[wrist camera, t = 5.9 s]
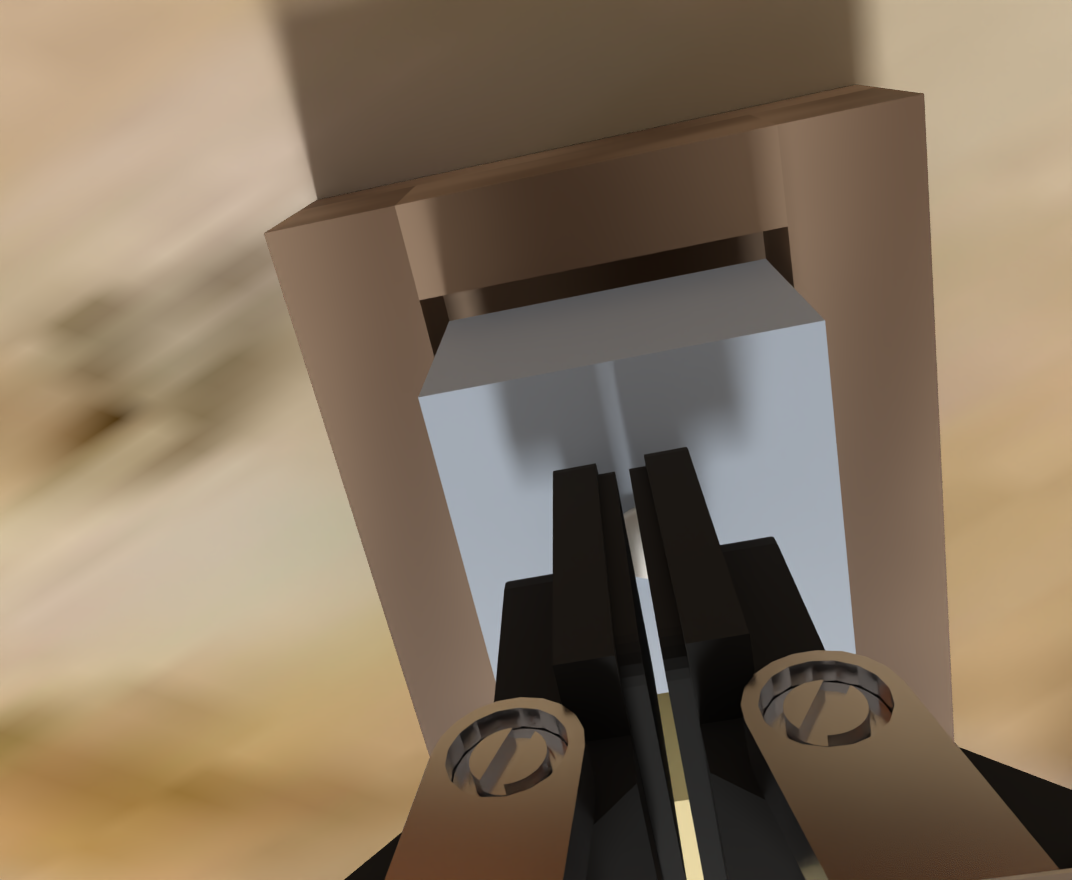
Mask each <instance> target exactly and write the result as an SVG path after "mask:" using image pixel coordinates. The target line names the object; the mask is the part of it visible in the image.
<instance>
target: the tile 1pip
mask: <svg viewBox="0 0 1072 880" xmlns="http://www.w3.org/2000/svg"><path fill="white" fill-rule="evenodd" d="M418 399H419V402H420V406H421V410H422V413H423V417H424V421H425V424H426V428H427V432H428V435H429V439H430V443H431V446H432V450H433V454H434V457H435V461H436V465H437V468H438V472H439V476H440V479H441V483H442V487H443V490H444V494H445V498H446V502H447V505H448V509H449V513H450V516H451V520H452V524H453V527H454V531H455V535H456V538H457V542H458V546H459V549H460V553H461V557H462V560H463V564H464V568H465V571H466V575H467V579H468V582H469V586H470V590H471V593H472V597H473V601H474V604H475V608H476V612H477V615H478V619H479V623H480V626H481V630H482V634H483V637H484V641H485V645H486V648H487V652H488V656H489V659H490V663H491V667H492V670H493V674H494V678H495V681H496V674H497V663H498V652H499V641H500V630H501V619H502V608H503V597H504V588H505V583H506V582H508V581H513V580H519V579H525V578H530V577H536V576H542V575H548V574H553V471H556V470H561V469H567V468H572V467H578V466H583V465H589V464H594V463H596V465H597V469H598V474H604V473H609V472H615V474H616V479H617V484H618V489H619V495H620V500H621V505H622V510H623V515H624V520H625V526H626V531H627V536H628V541H629V546H630V551H631V557H632V562H633V567H634V572H635V577H636V583H637V588H638V593H639V598H640V603H641V608H642V614H643V619H644V624H645V629H646V634H647V639H648V645H649V650H650V655H651V661H652V666H653V672H654V678H655V684H656V690H657V694H661V693H667V692H669V691H668V686H667V680H666V675H665V670H664V664H663V659H662V653H661V648H660V642H659V637H658V631H657V626H656V620H655V614H654V609H653V603H652V597H651V592H650V586H649V581H648V575H647V569H646V564H645V558H644V552H643V547H642V541H641V535H640V530H639V524H638V518H637V513H636V507H635V502H634V496H633V490H632V485H631V479H630V473H629V469H631V468H637V467H642V466H645V460H644V454H649V453H655V452H660V451H666V450H671V449H677V448H682V447H687V448H688V450H689V453H690V456H691V459H692V462H693V465H694V468H695V471H696V474H697V477H698V480H699V483H700V486H701V489H702V492H703V495H704V498H705V501H706V504H707V507H708V510H709V513H710V516H711V519H712V522H713V525H714V528H715V531H716V534H717V537H718V540H719V543H720V545H723V544H729V543H735V542H741V541H747V540H753V539H758V538H764V537H770V536H772V537H774V538H775V540H776V542H777V544H778V546H779V548H780V550H781V553H782V555H783V557H784V559H785V561H786V564H787V566H788V568H789V570H790V573H791V575H792V577H793V579H794V582H795V584H796V586H797V588H798V590H799V593H800V595H801V597H802V599H803V602H804V604H805V606H806V608H807V610H808V613H809V615H810V617H811V619H812V622H813V624H814V626H815V628H816V631H817V633H818V635H819V637H820V639H821V642H822V644H823V646H824V648H825V651H844V652H849V653H853V654H856V649H855V638H854V628H853V617H852V606H851V595H850V584H849V574H848V563H847V552H846V541H845V530H844V520H843V509H842V498H841V487H840V476H839V466H838V455H837V444H836V433H835V422H834V412H833V401H832V390H831V379H830V368H829V358H828V347H827V336H826V325H825V320H824V319H823V318H822V317H821V316H820V315H819V314H818V313H817V311H816V310H815V309H814V308H813V307H812V306H811V305H810V304H809V303H808V302H807V301H806V300H805V299H804V298H803V297H802V296H801V295H800V294H799V293H798V292H797V291H796V290H795V289H794V288H793V287H792V285H791V284H790V283H789V282H788V281H787V280H786V279H785V278H784V277H783V276H782V275H781V274H780V273H779V272H778V271H777V270H776V269H775V268H774V267H773V266H772V265H771V264H770V263H769V262H768V260H767V259H761V260H756V261H751V262H746V263H741V264H736V265H731V266H726V267H721V268H716V269H711V270H706V271H701V272H696V273H691V274H685V275H680V276H675V277H670V278H665V279H660V280H655V281H650V282H645V283H640V284H635V285H630V286H625V287H620V288H615V289H610V290H604V291H599V292H594V293H589V294H584V295H579V296H574V297H569V298H564V299H559V300H554V301H549V302H544V303H539V304H534V305H528V306H523V307H518V308H513V309H508V310H503V311H498V312H493V313H488V314H483V315H478V316H473V317H468V318H463V319H458V320H453V321H449V323H448V325H447V328H446V330H445V333H444V335H443V338H442V340H441V343H440V345H439V348H438V350H437V352H436V355H435V357H434V360H433V362H432V365H431V367H430V370H429V372H428V375H427V377H426V380H425V382H424V384H423V387H422V389H421V392H420V394H419V397H418Z"/></svg>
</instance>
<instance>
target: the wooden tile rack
mask: <svg viewBox="0 0 1072 880" xmlns="http://www.w3.org/2000/svg"><path fill="white" fill-rule="evenodd" d="M264 235H265V239H266V242H267V245H268V248H269V251H270V254H271V257H272V261H273V264H274V267H275V270H276V273H277V276H278V280H279V283H280V286H281V289H282V292H283V295H284V298H285V302H286V305H287V308H288V311H289V314H290V317H291V321H292V324H293V327H294V330H295V333H296V336H297V339H298V343H299V346H300V349H301V352H302V355H303V358H304V362H305V365H306V368H307V371H308V374H309V377H310V381H311V384H312V387H313V390H314V393H315V396H316V399H317V403H318V406H319V409H320V412H321V415H322V418H323V422H324V425H325V428H326V431H327V434H328V437H329V440H330V444H331V447H332V450H333V453H334V456H335V459H336V463H337V466H338V469H339V472H340V475H341V478H342V481H343V485H344V488H345V491H346V494H347V497H348V500H349V504H350V507H351V510H352V513H353V516H354V519H355V523H356V526H357V529H358V532H359V535H360V538H361V541H362V545H363V548H364V551H365V554H366V557H367V560H368V564H369V567H370V570H371V573H372V576H373V579H374V582H375V586H376V589H377V592H378V595H379V598H380V601H381V605H382V608H383V611H384V614H385V617H386V620H387V623H388V627H389V630H390V633H391V636H392V639H393V642H394V646H395V649H396V652H397V655H398V658H399V661H400V665H401V668H402V671H403V674H404V677H405V680H406V683H407V687H408V690H409V693H410V696H411V699H412V702H413V706H414V709H415V712H416V715H417V718H418V721H419V724H420V728H421V731H422V734H423V737H424V740H425V743H426V747H427V750H428V753H429V756H431V753H432V751H433V750H434V748H435V746H436V744H437V743H438V741H439V739H440V737H441V736H442V735H443V734H444V733H445V732H446V731H447V730H448V729H449V728H450V727H451V726H452V725H453V724H454V723H455V722H456V721H458V720H459V719H461V718H463V717H464V716H466V715H467V714H469V713H471V712H472V711H474V710H475V709H478V708H480V707H483V706H486V705H488V704H491V703H494V696H495V685H496V681H495V678H494V674H493V670H492V667H491V663H490V659H489V656H488V652H487V648H486V645H485V641H484V637H483V634H482V630H481V626H480V623H479V619H478V615H477V612H476V608H475V604H474V601H473V597H472V593H471V590H470V586H469V582H468V579H467V575H466V571H465V568H464V564H463V560H462V557H461V553H460V549H459V546H458V542H457V538H456V535H455V531H454V527H453V524H452V520H451V516H450V513H449V509H448V505H447V502H446V498H445V494H444V490H443V487H442V483H441V479H440V476H439V472H438V468H437V465H436V461H435V457H434V454H433V450H432V446H431V443H430V439H429V435H428V432H427V428H426V424H425V421H424V417H423V413H422V410H421V406H420V402H419V399H418V397H419V394H420V392H421V389H422V387H423V384H424V382H425V380H426V377H427V375H428V372H429V370H430V367H431V365H432V362H433V360H434V357H435V355H436V352H437V350H438V348H439V345H440V343H441V340H442V338H443V335H444V333H445V330H446V328H447V325H448V323H449V321H453V320H458V319H463V318H468V317H473V316H478V315H483V314H488V313H493V312H498V311H503V310H508V309H513V308H518V307H523V306H528V305H534V304H539V303H544V302H549V301H554V300H559V299H564V298H569V297H574V296H579V295H584V294H589V293H594V292H599V291H604V290H610V289H615V288H620V287H625V286H630V285H635V284H640V283H645V282H650V281H655V280H660V279H665V278H670V277H675V276H680V275H685V274H691V273H696V272H701V271H706V270H711V269H716V268H721V267H726V266H731V265H736V264H741V263H746V262H751V261H756V260H761V259H767V260H768V262H769V263H770V264H771V265H772V266H773V267H774V268H775V269H776V270H777V271H778V272H779V273H780V274H781V275H782V276H783V277H784V278H785V279H786V280H787V281H788V282H789V283H790V284H791V285H792V287H793V288H794V289H795V290H796V291H797V292H798V293H799V294H800V295H801V296H802V297H803V298H804V299H805V300H806V301H807V302H808V303H809V304H810V305H811V306H812V307H813V308H814V309H815V310H816V311H817V313H818V314H819V315H820V316H821V317H822V318H823V319H824V320H825V325H826V336H827V347H828V358H829V368H830V379H831V390H832V401H833V412H834V422H835V433H836V444H837V455H838V466H839V476H840V487H841V498H842V509H843V520H844V530H845V541H846V552H847V563H848V574H849V584H850V595H851V606H852V617H853V628H854V638H855V649H856V654H857V655H862V656H866V657H868V658H870V659H873V660H875V661H877V662H879V663H881V664H883V665H885V666H887V667H889V668H890V669H891V670H892V671H893V672H894V673H896V674H897V675H898V676H899V677H900V678H901V679H903V680H904V681H905V683H906V684H907V685H908V686H909V688H910V689H911V690H912V691H913V692H914V694H915V695H916V696H917V697H918V698H919V700H920V701H921V702H922V703H923V704H924V706H925V707H926V708H927V709H928V711H929V712H930V713H931V714H932V715H933V717H934V718H935V719H936V720H937V721H938V723H939V724H940V725H941V726H942V727H943V729H944V730H945V731H946V732H947V734H948V735H949V736H950V737H951V738H952V740H953V741H954V727H953V706H952V684H951V663H950V641H949V620H948V598H947V577H946V555H945V534H944V512H943V491H942V469H941V448H940V426H939V405H938V383H937V362H936V340H935V319H934V297H933V276H932V255H931V233H930V212H929V190H928V169H927V147H926V126H925V104H924V94H923V93H915V92H908V91H900V90H893V89H885V88H877V87H870V86H862V85H851V86H847V87H842V88H837V89H833V90H828V91H823V92H819V93H814V94H809V95H805V96H800V97H795V98H791V99H786V100H781V101H777V102H772V103H767V104H763V105H758V106H753V107H749V108H744V109H739V110H735V111H730V112H725V113H721V114H716V115H711V116H707V117H702V118H697V119H693V120H688V121H683V122H679V123H674V124H669V125H665V126H660V127H655V128H651V129H646V130H641V131H637V132H632V133H627V134H623V135H618V136H613V137H609V138H604V139H599V140H595V141H590V142H585V143H581V144H576V145H571V146H567V147H562V148H557V149H553V150H548V151H543V152H539V153H534V154H529V155H525V156H520V157H515V158H511V159H506V160H501V161H497V162H492V163H487V164H483V165H478V166H473V167H469V168H464V169H459V170H455V171H450V172H445V173H441V174H436V175H431V176H427V177H422V178H417V179H413V180H408V181H403V182H399V183H394V184H389V185H385V186H380V187H375V188H371V189H366V190H361V191H357V192H352V193H347V194H343V195H338V196H333V197H329V198H324V199H319V200H316V201H314V202H313V203H311V204H310V205H308V206H306V207H305V208H303V209H302V210H300V211H299V212H297V213H295V214H294V215H292V216H291V217H289V218H287V219H286V220H284V221H283V222H281V223H280V224H278V225H276V226H275V227H273V228H272V229H270V230H268V231H267V232H265V233H264Z"/></svg>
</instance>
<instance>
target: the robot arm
mask: <svg viewBox="0 0 1072 880" xmlns="http://www.w3.org/2000/svg"><path fill="white" fill-rule="evenodd" d="M644 460H645V466H642V467H637V468H631V469H629V473H630V479H631V485H632V490H633V496H634V502H635V507H636V513H637V518H638V524H639V530H640V535H641V541H642V547H643V552H644V558H645V564H646V569H647V575H648V581H649V586H650V592H651V597H652V603H653V609H654V614H655V620H656V626H657V631H658V637H659V642H660V648H661V653H662V659H663V664H664V670H665V675H666V680H667V686H668V691H669V696H670V702H671V707H672V712H673V718H674V723H675V728H676V734H677V739H678V744H679V750H680V755H681V760H682V766H683V771H684V776H685V782H686V787H687V792H688V798H689V803H690V808H691V814H692V819H693V824H694V830H695V835H696V840H697V846H698V851H699V856H700V862H701V867H702V872H703V878H704V880H1072V790H1070V789H1068V788H1065V787H1062V786H1060V785H1057V784H1055V783H1052V782H1049V781H1047V780H1044V779H1041V778H1039V777H1036V776H1033V775H1031V774H1028V773H1026V772H1023V771H1020V770H1018V769H1015V768H1012V767H1010V766H1007V765H1005V764H1002V763H999V762H997V761H994V760H991V759H989V758H986V757H984V756H981V755H978V754H976V753H973V752H970V751H968V750H965V749H963V748H960V747H958V746H957V744H956V743H955V742H954V741H953V740H952V738H951V737H950V736H949V735H948V734H947V732H946V731H945V730H944V729H943V727H942V726H941V725H940V724H939V723H938V721H937V720H936V719H935V718H934V717H933V715H932V714H931V713H930V712H929V711H928V709H927V708H926V707H925V706H924V704H923V703H922V702H921V701H920V700H919V698H918V697H917V696H916V695H915V694H914V692H913V691H912V690H911V689H910V688H909V686H908V685H907V684H906V683H905V681H904V680H903V679H901V678H900V677H899V676H898V675H897V674H896V673H894V672H893V671H892V670H891V669H890V668H889V667H887V666H885V665H883V664H881V663H879V662H877V661H875V660H873V659H870V658H868V657H866V656H862V655H857V654H853V653H849V652H844V651H825V648H824V646H823V644H822V642H821V639H820V637H819V635H818V633H817V631H816V628H815V626H814V624H813V622H812V619H811V617H810V615H809V613H808V610H807V608H806V606H805V604H804V602H803V599H802V597H801V595H800V593H799V590H798V588H797V586H796V584H795V582H794V579H793V577H792V575H791V573H790V570H789V568H788V566H787V564H786V561H785V559H784V557H783V555H782V553H781V550H780V548H779V546H778V544H777V542H776V540H775V538H774V537H772V536H770V537H764V538H758V539H753V540H747V541H741V542H735V543H729V544H723V545H720V543H719V540H718V537H717V534H716V531H715V528H714V525H713V522H712V519H711V516H710V513H709V510H708V507H707V504H706V501H705V498H704V495H703V492H702V489H701V486H700V483H699V480H698V477H697V474H696V471H695V468H694V465H693V462H692V459H691V456H690V453H689V450H688V448H687V447H682V448H677V449H671V450H666V451H660V452H655V453H649V454H644ZM345 880H687V878H686V872H685V865H684V859H683V853H682V847H681V840H680V834H679V828H678V822H677V815H676V809H675V803H674V797H673V790H672V784H671V778H670V772H669V765H668V759H667V753H666V746H665V740H664V734H663V728H662V721H661V715H660V709H659V703H658V696H657V690H656V684H655V678H654V672H653V666H652V661H651V655H650V650H649V645H648V639H647V634H646V629H645V624H644V619H643V614H642V608H641V603H640V598H639V593H638V588H637V583H636V577H635V572H634V567H633V562H632V557H631V551H630V546H629V541H628V536H627V531H626V526H625V520H624V515H623V510H622V505H621V500H620V495H619V489H618V484H617V479H616V474H615V472H609V473H604V474H598V469H597V465H596V463H594V464H589V465H583V466H578V467H572V468H567V469H561V470H556V471H553V574H548V575H542V576H536V577H530V578H525V579H519V580H513V581H508V582H506V583H505V588H504V597H503V608H502V619H501V630H500V641H499V652H498V663H497V674H496V685H495V696H494V703H491V704H488V705H486V706H483V707H480V708H478V709H475V710H474V711H472V712H471V713H469V714H467V715H466V716H464V717H463V718H461V719H459V720H458V721H456V722H455V723H454V724H453V725H452V726H451V727H450V728H449V729H448V730H447V731H446V732H445V733H444V734H443V735H442V736H441V737H440V739H439V741H438V743H437V744H436V746H435V748H434V750H433V751H432V753H431V756H430V758H429V761H428V764H427V766H426V769H425V772H424V774H423V777H422V780H421V783H420V785H419V788H418V791H417V793H416V796H415V799H414V802H413V804H412V807H411V810H410V812H409V815H408V818H407V820H406V823H405V826H404V829H403V831H402V833H401V834H399V835H398V836H397V837H396V838H394V839H393V840H392V841H391V842H390V843H388V844H387V845H386V846H385V847H383V848H382V849H381V850H380V851H379V852H377V853H376V854H375V855H374V856H373V857H371V858H370V859H369V860H368V861H366V862H365V863H364V864H363V865H362V866H360V867H359V868H358V869H357V870H356V871H354V872H353V873H352V874H351V875H349V876H348V877H347V878H346V879H345Z"/></svg>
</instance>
